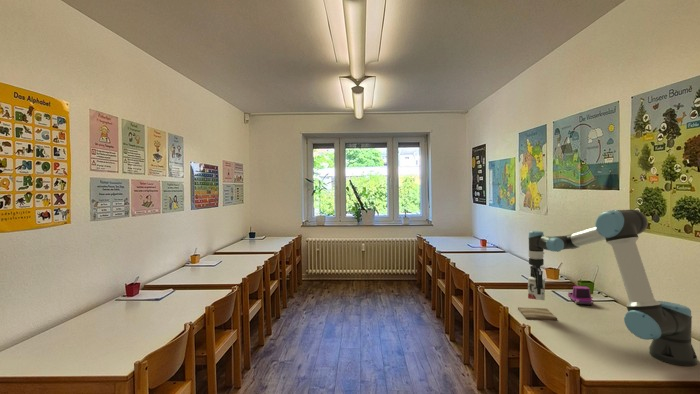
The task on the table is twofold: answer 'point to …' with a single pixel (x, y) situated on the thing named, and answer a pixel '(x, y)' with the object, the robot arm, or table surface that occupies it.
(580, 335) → the table surface
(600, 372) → the table surface
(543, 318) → the walnut board
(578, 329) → the table surface
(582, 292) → the toy truck
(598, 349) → the table surface
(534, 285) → the ink box
